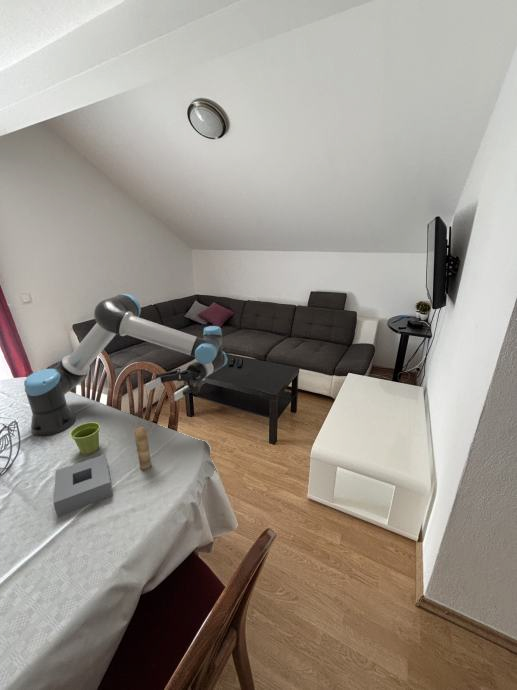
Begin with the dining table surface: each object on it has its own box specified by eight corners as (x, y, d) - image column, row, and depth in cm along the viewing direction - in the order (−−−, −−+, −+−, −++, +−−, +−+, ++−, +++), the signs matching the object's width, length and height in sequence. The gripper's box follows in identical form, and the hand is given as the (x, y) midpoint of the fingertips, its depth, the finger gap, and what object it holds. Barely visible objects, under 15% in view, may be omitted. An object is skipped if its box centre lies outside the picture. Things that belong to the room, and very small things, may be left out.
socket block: (59, 482, 90) (55, 470, 89) (108, 466, 97) (105, 454, 96) (57, 516, 79) (53, 502, 77) (112, 494, 86) (110, 482, 84)
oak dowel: (139, 465, 98) (133, 428, 93) (150, 461, 99) (144, 425, 95) (141, 472, 95) (135, 434, 90) (152, 467, 97) (146, 431, 92)
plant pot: (91, 460, 100) (86, 439, 97) (68, 456, 102) (63, 436, 99) (109, 443, 109) (105, 423, 106) (88, 439, 110) (84, 420, 108)
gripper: (225, 385, 111) (188, 411, 93) (177, 372, 122) (136, 393, 104) (224, 367, 108) (186, 391, 90) (176, 356, 119) (133, 375, 102)
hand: (160, 392), depth 97 cm, fingers open, 13 cm apart
